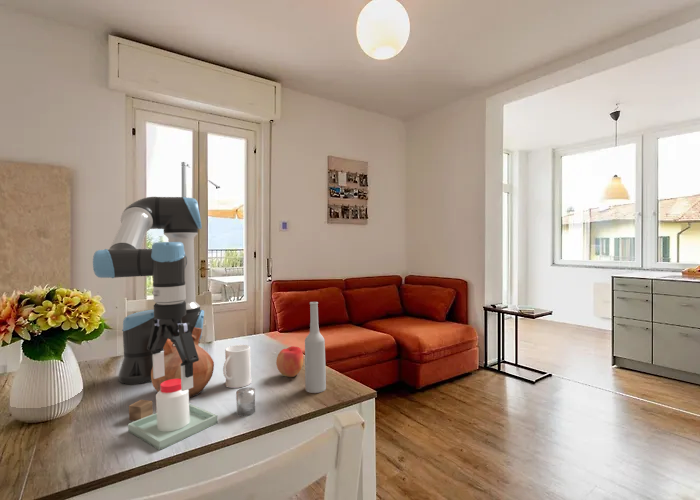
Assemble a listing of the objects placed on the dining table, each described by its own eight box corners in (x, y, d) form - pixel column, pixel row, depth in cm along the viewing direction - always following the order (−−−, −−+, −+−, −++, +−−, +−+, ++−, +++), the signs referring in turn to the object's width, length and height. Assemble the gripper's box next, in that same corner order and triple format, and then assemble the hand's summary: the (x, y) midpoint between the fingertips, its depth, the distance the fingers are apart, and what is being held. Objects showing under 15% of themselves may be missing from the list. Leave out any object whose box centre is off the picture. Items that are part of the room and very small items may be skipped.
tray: (128, 431, 94) (128, 423, 94) (185, 408, 107) (184, 401, 107) (159, 450, 86) (159, 441, 85) (217, 422, 98) (217, 415, 98)
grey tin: (233, 413, 104) (232, 392, 103) (247, 406, 108) (246, 386, 107) (244, 417, 101) (244, 396, 100) (259, 410, 105) (258, 389, 105)
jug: (173, 410, 106) (171, 341, 106) (139, 397, 116) (137, 333, 115) (226, 388, 122) (224, 327, 121) (191, 378, 131) (190, 321, 131)
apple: (290, 369, 138) (290, 342, 138) (309, 374, 132) (309, 346, 132) (271, 377, 130) (270, 349, 130) (290, 383, 125) (290, 353, 124)
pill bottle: (149, 429, 94) (148, 386, 94) (173, 415, 101) (172, 375, 101) (173, 433, 92) (171, 389, 91) (196, 419, 99) (194, 378, 98)
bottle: (317, 394, 115) (315, 304, 114) (301, 390, 118) (299, 303, 118) (330, 387, 120) (328, 301, 120) (314, 383, 124) (312, 300, 123)
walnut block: (129, 420, 101) (128, 405, 101) (141, 413, 105) (140, 399, 104) (141, 422, 100) (140, 407, 100) (152, 415, 103) (152, 401, 103)
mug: (233, 393, 117) (232, 355, 117) (212, 389, 120) (211, 353, 120) (256, 380, 128) (256, 345, 127) (237, 377, 131) (236, 343, 131)
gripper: (131, 299, 99) (134, 377, 101) (183, 309, 85) (186, 400, 86) (159, 295, 106) (161, 368, 107) (212, 304, 91) (214, 388, 92)
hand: (172, 382), depth 96 cm, fingers open, 13 cm apart
